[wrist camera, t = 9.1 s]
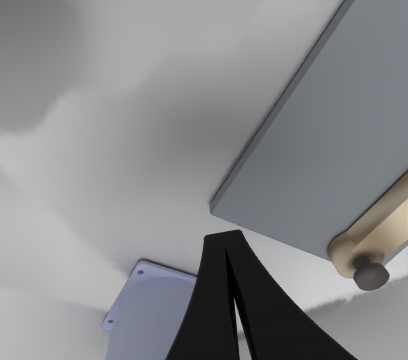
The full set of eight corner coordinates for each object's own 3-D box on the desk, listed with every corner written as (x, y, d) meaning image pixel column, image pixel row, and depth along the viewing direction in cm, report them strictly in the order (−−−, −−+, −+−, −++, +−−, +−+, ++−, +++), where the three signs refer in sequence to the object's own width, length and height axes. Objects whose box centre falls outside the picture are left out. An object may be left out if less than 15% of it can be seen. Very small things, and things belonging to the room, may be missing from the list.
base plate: (365, 268, 27) (371, 277, 26) (209, 205, 22) (210, 214, 21) (534, 113, 20) (550, 118, 19) (363, -28, 15) (375, -30, 14)
